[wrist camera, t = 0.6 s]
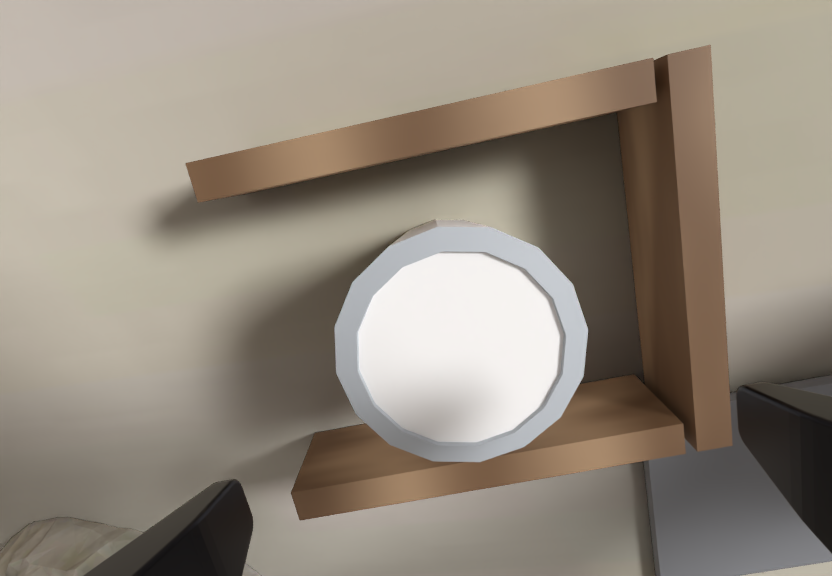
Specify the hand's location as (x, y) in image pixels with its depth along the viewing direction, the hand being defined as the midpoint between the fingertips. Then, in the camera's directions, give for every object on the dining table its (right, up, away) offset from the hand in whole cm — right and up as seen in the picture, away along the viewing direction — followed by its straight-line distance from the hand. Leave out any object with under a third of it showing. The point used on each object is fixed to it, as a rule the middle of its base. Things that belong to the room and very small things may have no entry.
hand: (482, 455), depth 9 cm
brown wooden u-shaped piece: (+1, +3, +11) cm, 11 cm away
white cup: (0, +3, +11) cm, 12 cm away
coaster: (+14, -6, +13) cm, 20 cm away
